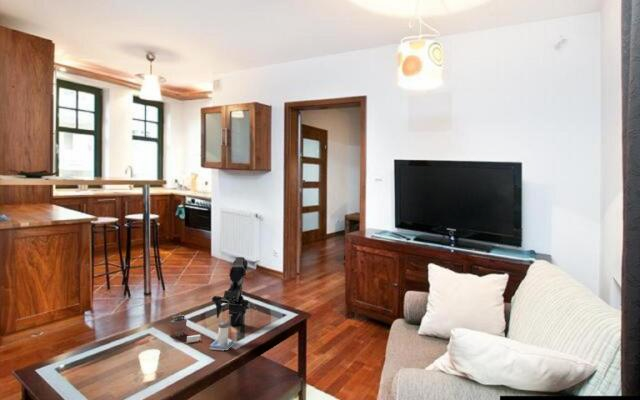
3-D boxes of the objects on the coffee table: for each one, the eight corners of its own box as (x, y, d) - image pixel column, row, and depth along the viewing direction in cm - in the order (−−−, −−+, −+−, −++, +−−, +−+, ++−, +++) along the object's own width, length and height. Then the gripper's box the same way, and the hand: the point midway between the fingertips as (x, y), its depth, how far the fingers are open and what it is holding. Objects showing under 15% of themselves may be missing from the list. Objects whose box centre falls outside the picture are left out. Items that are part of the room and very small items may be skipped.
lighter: (184, 332, 181) (185, 312, 181) (187, 334, 178) (188, 314, 178) (168, 336, 175) (169, 315, 175) (171, 338, 173) (172, 317, 173)
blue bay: (217, 341, 170) (217, 338, 170) (234, 343, 169) (234, 339, 169) (209, 349, 161) (209, 345, 161) (227, 350, 160) (227, 346, 160)
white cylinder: (225, 342, 168) (227, 321, 168) (228, 345, 164) (229, 324, 164) (216, 343, 165) (217, 322, 166) (219, 347, 162) (220, 325, 162)
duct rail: (199, 339, 172) (199, 334, 172) (200, 340, 170) (200, 335, 170) (186, 341, 168) (186, 336, 168) (187, 342, 167) (187, 337, 167)
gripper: (213, 280, 177) (203, 311, 168) (249, 285, 175) (241, 316, 166) (219, 289, 186) (209, 318, 177) (253, 293, 184) (245, 323, 175)
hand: (226, 319), depth 174 cm, fingers open, 9 cm apart
